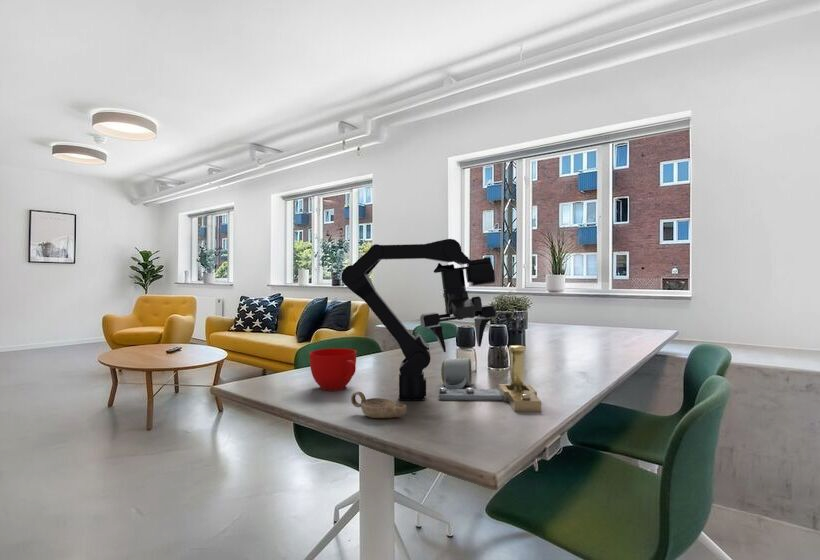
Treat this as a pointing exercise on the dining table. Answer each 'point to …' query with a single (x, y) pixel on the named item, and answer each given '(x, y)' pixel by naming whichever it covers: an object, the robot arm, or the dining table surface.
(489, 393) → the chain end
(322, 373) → the ceramic cup
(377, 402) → the oil lamp
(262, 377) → the dining table surface
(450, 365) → the ceramic mug
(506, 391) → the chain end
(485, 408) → the dining table surface
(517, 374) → the pin
